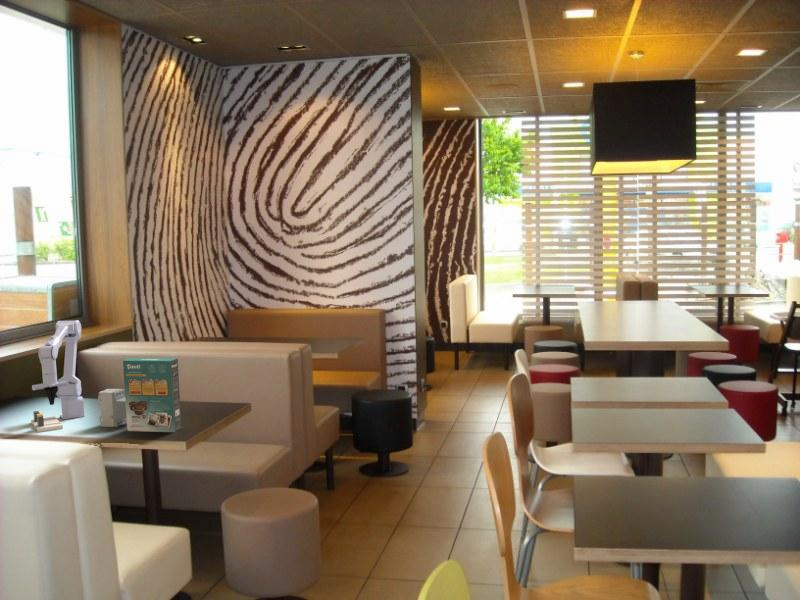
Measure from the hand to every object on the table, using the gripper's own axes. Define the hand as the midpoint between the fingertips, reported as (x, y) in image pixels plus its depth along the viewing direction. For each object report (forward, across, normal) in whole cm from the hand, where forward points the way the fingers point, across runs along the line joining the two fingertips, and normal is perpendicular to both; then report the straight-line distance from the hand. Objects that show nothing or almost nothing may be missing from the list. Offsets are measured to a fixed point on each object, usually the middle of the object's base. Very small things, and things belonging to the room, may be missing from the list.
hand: (51, 404), depth 369 cm
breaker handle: (+8, -5, 0) cm, 10 cm away
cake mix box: (+10, +35, -33) cm, 49 cm away
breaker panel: (+10, -2, +5) cm, 11 cm away
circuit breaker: (+10, +25, -14) cm, 30 cm away
